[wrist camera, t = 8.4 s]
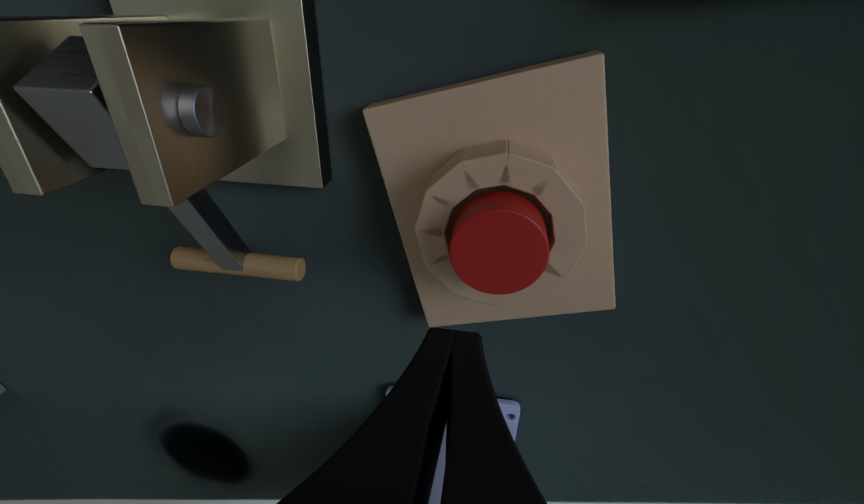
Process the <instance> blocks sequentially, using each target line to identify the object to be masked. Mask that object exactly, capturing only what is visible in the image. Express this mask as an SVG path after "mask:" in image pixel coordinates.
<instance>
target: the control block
mask: <svg viewBox="0 0 864 504" xmlns="http://www.w3.org/2000/svg"><path fill="white" fill-rule="evenodd" d="M363 115H364V118H365V121H366V125H367V128H368V131H369V134H370V138H371V141H372V144H373V148H374V151H375V154H376V157H377V161H378V164H379V167H380V170H381V174H382V177H383V180H384V183H385V187H386V190H387V193H388V197H389V200H390V203H391V206H392V210H393V213H394V216H395V219H396V223H397V226H398V229H399V233H400V236H401V239H402V242H403V246H404V249H405V252H406V255H407V259H408V262H409V265H410V268H411V272H412V275H413V278H414V282H415V285H416V288H417V291H418V295H419V298H420V301H421V304H422V308H423V311H424V314H425V318H426V321H427V324H428V327H437V326H447V325H457V324H467V323H477V322H487V321H498V320H508V319H518V318H528V317H538V316H548V315H558V314H569V313H579V312H589V311H599V310H609V309H615V307H616V306H615V284H614V262H613V240H612V218H611V196H610V174H609V152H608V130H607V108H606V86H605V64H604V54H603V53H601V52H599V51H591V52H587V53H583V54H579V55H575V56H570V57H566V58H562V59H558V60H553V61H549V62H545V63H541V64H537V65H532V66H528V67H524V68H520V69H515V70H511V71H507V72H503V73H499V74H494V75H490V76H486V77H482V78H477V79H473V80H469V81H465V82H461V83H456V84H452V85H448V86H444V87H439V88H435V89H431V90H427V91H423V92H418V93H414V94H410V95H406V96H401V97H397V98H393V99H389V100H385V101H380V102H376V103H372V104H370V105H368V106H367V107H366V108H364V109H363ZM495 191H505V192H511V193H515V194H518V195H520V196H522V197H524V198H526V199H528V200H529V201H530V202H532V203H533V204H534V205H535V206H536V207H537V209H538V210H539V211H540V213H541V215H542V217H543V220H544V223H545V228H546V233H547V238H548V243H549V250H550V254H549V260H548V264H547V266H546V268H545V270H544V272H543V273H542V275H541V276H540V277H539V278H538V280H536V281H535V282H534V283H533V284H532V285H530V286H529V287H527V288H525V289H523V290H521V291H519V292H515V293H512V294H505V295H493V294H487V293H483V292H480V291H478V290H475V289H474V288H472V287H470V286H469V285H467V284H466V283H465V282H463V281H462V280H461V279H460V278H459V276H458V275H457V274H456V272H455V271H454V269H453V267H452V264H451V261H450V257H449V246H450V240H451V236H452V231H453V227H454V223H455V219H456V217H457V215H458V213H459V212H460V210H461V209H462V208H463V206H464V205H465V204H467V203H468V202H469V201H470V200H472V199H473V198H475V197H477V196H479V195H482V194H484V193H488V192H495Z"/></svg>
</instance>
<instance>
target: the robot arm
mask: <svg viewBox="0 0 864 504" xmlns="http://www.w3.org/2000/svg"><path fill="white" fill-rule="evenodd" d="M385 395H386V397H385V398H384V399H383V400H382V402H381V403H380V404H379V405H378V407H377V408H376V409H375V410H374V412H373V413H372V414H371V415H370V416H369V417H368V418H367V420H366V421H365V422H364V423H363V424H362V425H361V426H360V427H359V428H358V430H357V431H356V432H355V433H354V434H353V435H352V436H351V437H350V438H349V439H348V440H347V441H346V442H345V443H344V444H343V445H342V446H341V447H340V448H339V449H338V450H337V451H336V452H335V453H334V454H333V455H332V456H331V457H330V458H329V459H328V460H327V461H326V462H325V463H324V464H322V465H321V466H320V467H319V468H318V469H317V470H316V471H315V472H314V473H313V474H311V475H310V476H309V477H308V478H307V479H305V480H304V481H303V482H302V483H301V484H299V485H298V486H297V487H296V488H295V489H294V490H292V491H291V492H290V493H289V494H288V495H286V496H285V497H284V498H283V499H282V500H280V501H279V502H278V503H277V504H547V502H546V501H545V499H544V497H543V496H542V494H541V492H540V491H539V489H538V487H537V485H536V483H535V481H534V479H533V478H532V476H531V474H530V472H529V470H528V468H527V466H526V464H525V462H524V460H523V458H522V456H521V454H520V452H519V450H518V448H517V446H516V444H515V437H516V432H517V426H518V421H519V416H520V405H519V403H518V402H516V401H513V400H505V399H498V398H497V397H496V394H495V391H494V388H493V385H492V383H491V379H490V376H489V373H488V369H487V365H486V361H485V356H484V351H483V345H482V336H481V335H480V334H479V333H476V332H467V331H458V330H450V329H441V328H431V329H429V330H428V331H427V334H426V336H425V338H424V340H423V342H422V344H421V345H420V347H419V349H418V351H417V352H416V354H415V356H414V357H413V359H412V360H411V362H410V364H409V365H408V366H407V368H406V369H405V371H404V372H403V374H402V375H401V377H400V378H399V379H398V381H397V382H396V384H395V385H391V386H389V387H388V388H387V390H386V394H385Z"/></svg>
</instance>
